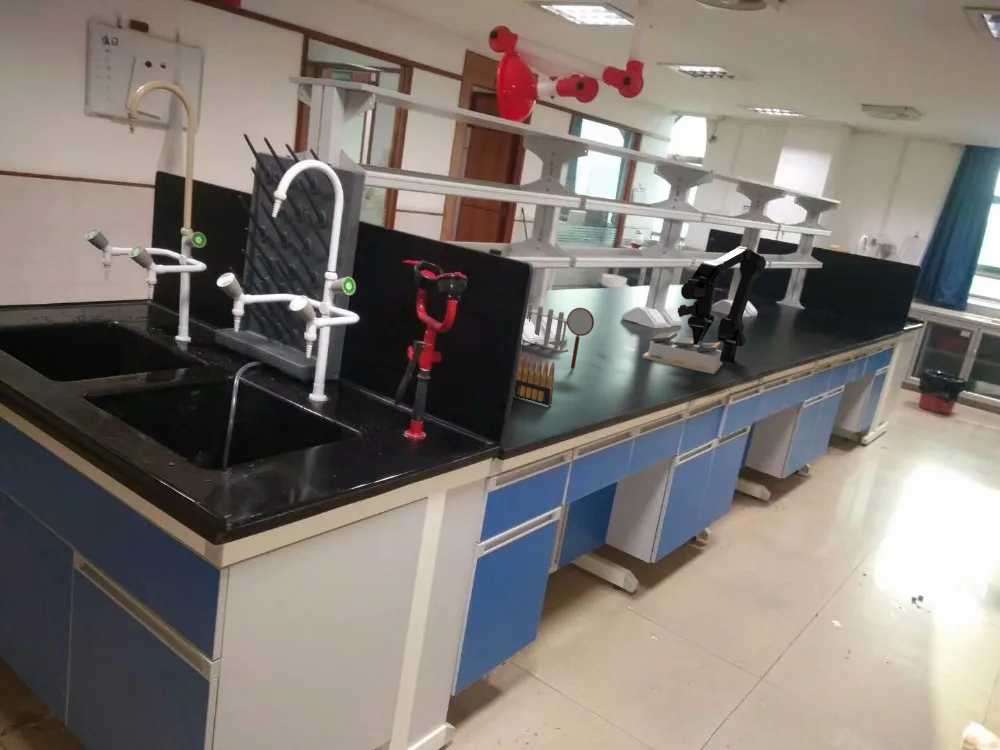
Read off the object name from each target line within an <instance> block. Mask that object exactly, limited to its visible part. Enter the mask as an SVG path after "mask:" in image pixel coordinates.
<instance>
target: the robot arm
mask: <svg viewBox="0 0 1000 750" xmlns="http://www.w3.org/2000/svg"><path fill="white" fill-rule="evenodd" d="M737 264H739V268H738V269H739V273H740V280H739V283H738V286H737V289H736V292H735V293H734V298H733V300H732V303H731V306H730V309H729V312H728V314H727V315H726V316H725V317H722V318H721V319H720V321H719V322H720V323H719V325H718V326H717V341H718V342H721V344H722V345H721V349H720V350H721V351H722V352H721V356H720V360H724V361H728V362H732V363H735V362H736V361H737V360H738V357H737V353H738V348H739V347H743V346H744V345H745V344H746V342H747V340H746V338H745V334H744V333H743V331H744V327H745V325H744V321H743V316H744V314H745V311H746V307H747V304H748V302H749V299H750V295H751V292H752V290H753V286H754V284H755V281H756V280H757V279H758V278H759V277H760V276H761V275H762V274H763V272H764V270H765V268H766V266H767V261H766V259H765V257H764V255H760V254H758V253H757V252H755V251H753V249H751V248H749V247H745V246H740V245H739V246H737V247H735V249H733V250H731V251H730V252H728V253H726V254H724V255H723V256H720V257H719V258H717V259H710V260H709V259H708V260H706V261H702V262H701V263H700V264H699V266H698V268H696V270H695V272H694V273H693V275H692V277H691V278H689V279H687V282H686V283H684V284H682V287H681V290H680V294H681V296H682V298H683V299H685V300H695V301H694V302H693V304H690V305H686V304H680V305H679V307H677V311H676V312H677V314H678V316H679V318H682V317H684V316H689V315H691V316H690V317H688V319H687V323H686V324H687V326H688V327H689V328H690V329H691V330H692V338H693V342H694V345H698V344H699V343H700V342H702V341H703V340H704V338H705V336H706V335H707V333H708V331H709V329H710V328H711V326H712V325H713V324H714V322H715V314H714V313H713V312H712V309H713V306H714V296H715V291H716V287H719V285H720V284H719V283H718V281H719V280H720V279H721V278H722V277H723V276H724V274H725V272H726V271H727V270H730V268H733V267H734V266H736V265H737Z"/></svg>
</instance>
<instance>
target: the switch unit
mask: <svg viewBox="0 0 1000 750" xmlns="http://www.w3.org/2000/svg"><path fill="white" fill-rule="evenodd" d="M675 341H676V340H674V339H672V340H670V341H652V340H651V341H649V347H648V351H646V352H645V353H643V354H642V357H641V358H642V359H645V358H646V359H647V360H650V361H654V360H655V361H656V362H658V361H659V363H664V364H668V365H671V364H672V366H676V367H680V368H685V369H688V370H689V369H690V370H694V371H698V372H703V373H707V374H709V375H710V374H711V375H714V374H715V373H716V372H717V371H718V370H719V369H720V368H721V367H722V365H723V362H722V361H721V359H720V356H721V352H722V351H721V349H717V350H716V351H697V348H698V347H699V346H700V345H698V344H697V345H694V346H693V347H689V346H679V345H674V342H675ZM655 361H654V362H655ZM720 366H721V367H720Z"/></svg>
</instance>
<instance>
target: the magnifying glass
mask: <svg viewBox="0 0 1000 750" xmlns="http://www.w3.org/2000/svg"><path fill="white" fill-rule="evenodd" d="M566 319H567V325H566V326H567V328H568V329H569V331H570V332H571V333H572V334H573V335H575V340H574V346H573V351H572V359H571V365H570V371H571V372H573V371H574V369H575V368H576V362H577V357H578V356H577V355H578V351H579V344H580V338H581V337H583V336H587V335H588V334H590V333H591V332H592V330H593V328H594V325H595V318H594V316H593V314H592V313H591V312H590V311H589V309H586V308H585V307H576V308H574V309H572V310H571V311H570V312H569V313H568V315H567V318H566Z"/></svg>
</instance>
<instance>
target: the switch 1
mask: <svg viewBox="0 0 1000 750" xmlns="http://www.w3.org/2000/svg"><path fill="white" fill-rule="evenodd" d="M677 336H678V333H677V332H669V333H659V334H657V335H656V336H654V337H652V338H651V342H652V341H670V340H674V338H676V337H677Z"/></svg>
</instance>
